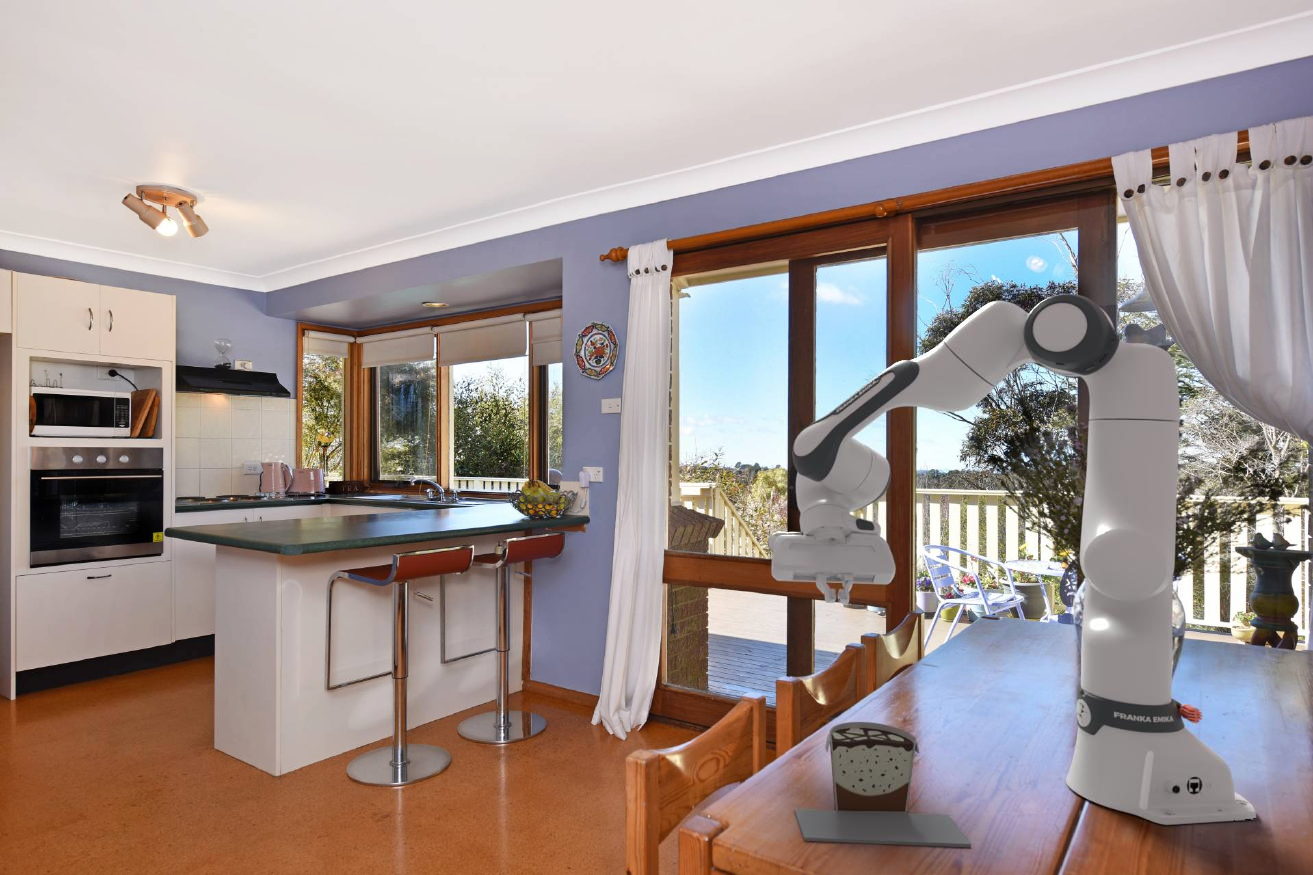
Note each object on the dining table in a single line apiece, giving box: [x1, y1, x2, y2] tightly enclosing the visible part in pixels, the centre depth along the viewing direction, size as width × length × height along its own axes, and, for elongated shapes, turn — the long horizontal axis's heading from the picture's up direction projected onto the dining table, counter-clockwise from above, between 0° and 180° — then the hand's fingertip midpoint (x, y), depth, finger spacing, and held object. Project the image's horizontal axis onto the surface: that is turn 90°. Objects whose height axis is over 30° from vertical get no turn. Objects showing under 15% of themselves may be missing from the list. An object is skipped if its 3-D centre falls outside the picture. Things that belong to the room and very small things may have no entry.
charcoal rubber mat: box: [793, 808, 972, 848], centre depth 96 cm, size 20×8×1 cm, turn 89°
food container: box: [824, 721, 920, 813], centre depth 104 cm, size 12×6×10 cm, turn 92°
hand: (837, 601), depth 123 cm, fingers closed
